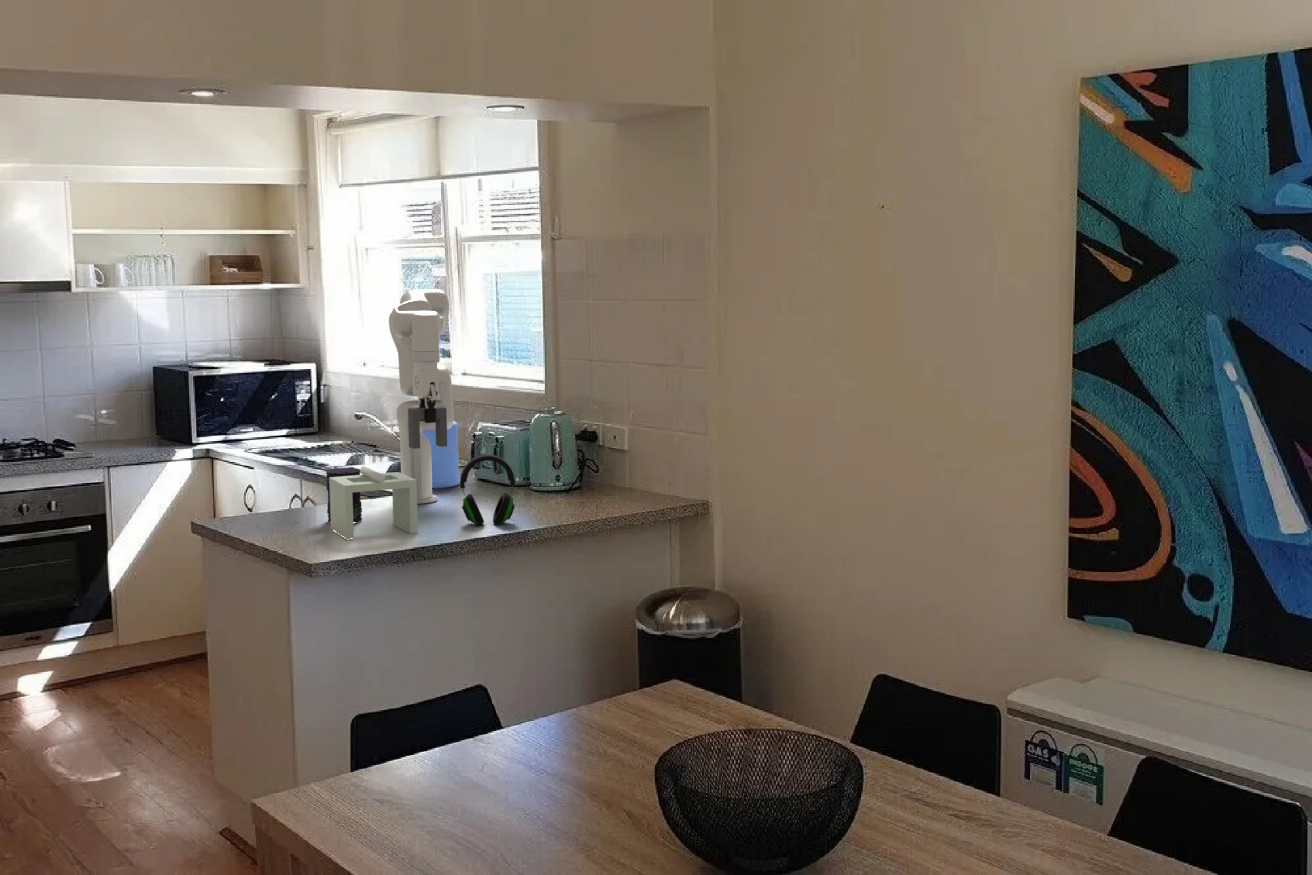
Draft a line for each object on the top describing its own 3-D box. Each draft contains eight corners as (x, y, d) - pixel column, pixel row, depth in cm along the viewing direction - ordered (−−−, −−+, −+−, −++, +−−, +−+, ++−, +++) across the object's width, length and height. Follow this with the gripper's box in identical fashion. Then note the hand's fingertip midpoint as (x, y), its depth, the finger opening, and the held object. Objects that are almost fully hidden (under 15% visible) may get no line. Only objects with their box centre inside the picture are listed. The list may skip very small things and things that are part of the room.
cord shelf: (331, 530, 394) (328, 468, 391) (400, 523, 403) (398, 463, 400) (346, 540, 380) (344, 476, 377) (417, 533, 389) (416, 471, 386)
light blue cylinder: (468, 483, 471) (467, 401, 468) (437, 490, 458) (435, 405, 454) (433, 479, 480) (431, 398, 476) (402, 486, 466) (399, 402, 463)
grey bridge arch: (408, 446, 397) (407, 408, 396) (442, 444, 402) (441, 406, 401) (413, 448, 394) (412, 409, 392) (447, 446, 399) (446, 407, 397)
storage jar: (324, 519, 409) (323, 469, 407) (358, 517, 413) (356, 466, 411) (331, 525, 400) (329, 474, 398) (365, 523, 404) (363, 471, 402)
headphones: (517, 526, 399) (516, 456, 396) (462, 528, 395) (460, 458, 393) (513, 520, 408) (512, 452, 405) (459, 522, 405) (458, 453, 402)
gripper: (403, 355, 400) (405, 419, 403) (422, 360, 385) (424, 425, 388) (429, 354, 404) (430, 417, 406) (448, 358, 389) (450, 424, 391)
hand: (427, 421), depth 397 cm, fingers closed on grey bridge arch, 4 cm apart
